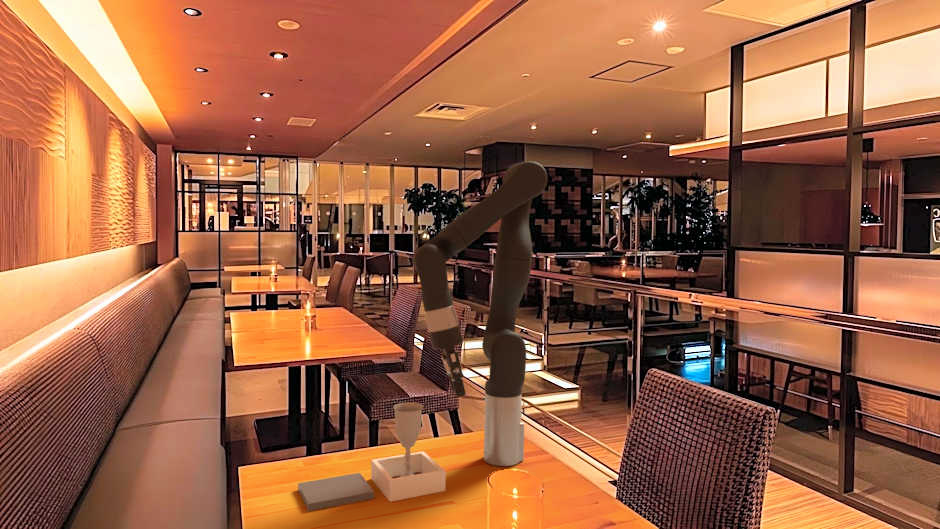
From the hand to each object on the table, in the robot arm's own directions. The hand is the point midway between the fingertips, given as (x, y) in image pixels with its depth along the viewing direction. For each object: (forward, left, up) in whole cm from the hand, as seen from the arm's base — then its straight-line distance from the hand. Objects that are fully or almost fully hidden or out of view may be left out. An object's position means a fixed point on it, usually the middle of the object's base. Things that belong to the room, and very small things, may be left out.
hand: (458, 392), depth 145 cm
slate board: (+30, 0, -19) cm, 35 cm away
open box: (+14, +2, -19) cm, 24 cm away
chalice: (+14, +2, -19) cm, 24 cm away
